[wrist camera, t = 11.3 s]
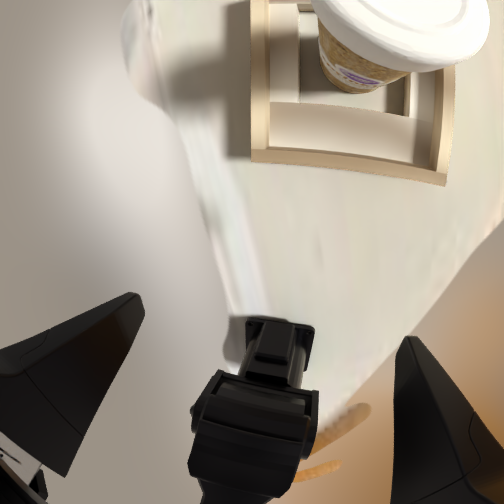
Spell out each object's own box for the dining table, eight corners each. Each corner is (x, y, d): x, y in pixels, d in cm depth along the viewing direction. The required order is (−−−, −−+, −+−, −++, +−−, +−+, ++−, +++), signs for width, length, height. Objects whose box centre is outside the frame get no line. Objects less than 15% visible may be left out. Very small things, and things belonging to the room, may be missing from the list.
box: (429, 175, 16) (445, 186, 14) (262, 154, 19) (251, 161, 16) (434, 17, 10) (449, 6, 8) (261, -3, 13) (250, -19, 10)
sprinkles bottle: (321, 91, 16) (309, 48, 4) (317, 30, 13) (291, -93, 2) (389, 98, 15) (506, 88, 3) (386, 36, 12) (471, -59, 1)
